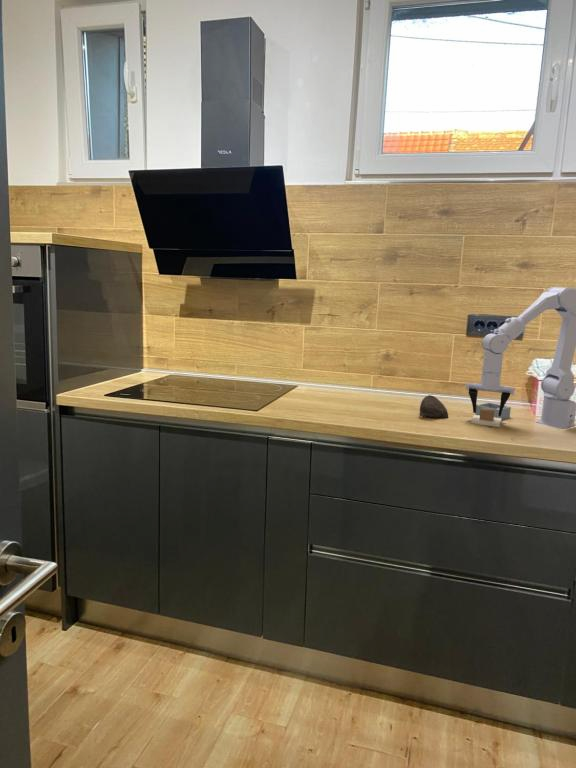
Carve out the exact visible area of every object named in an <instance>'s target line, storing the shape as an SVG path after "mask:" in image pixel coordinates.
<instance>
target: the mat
mask: <svg viewBox="0 0 576 768" xmlns="http://www.w3.org/2000/svg"><path fill="white" fill-rule="evenodd" d="M467 422H468V423H471V419H470V420H466V423H467ZM506 424H507V423H505V422H502V421H501V424H500V426H503V425H506ZM478 425H480V424H478ZM480 426H481V425H480ZM483 426H484V427H488V428H495V426H488V425H482V427H483Z"/></svg>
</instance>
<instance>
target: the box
mask: <svg viewBox="0 0 576 768" xmlns="http://www.w3.org/2000/svg"><path fill="white" fill-rule="evenodd" d="M481 408H490V409H495V411H494V417H496V418H502V420H506V419H509V418H510V416H511V409H512V407H511V406H507V405H504V407H503V410H502V413H501V416H498V415H499V409H500V404H497V403H493V402H485V403H480V404H479V403H478V404H476V413H474V415H480V410H481ZM498 408H499V409H498Z"/></svg>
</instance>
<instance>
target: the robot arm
mask: <svg viewBox="0 0 576 768" xmlns="http://www.w3.org/2000/svg"><path fill="white" fill-rule="evenodd" d="M547 310H555V311H556V312H557V313H558V314H559V316H560V317H561V318H562V320H561V325H560V328H559V333H558V338H557V342H556V346H555V350H554V356H553V360H552V365H551V367H549V368H548V369H547V370H546V372H545V375H544V377H543V378H542V380H541V383H540V389H541V391H542V392H543V401H542V408H541V418H540V420H536V421H535V423H537V424H540V425H546V426H548V427H549V426H550V427H553V428H559V429H565V430H566V429H569V428H572V427H575V426H576V424H575V421H576V402H575V400H571V399H570V398H571V397H572V396H573V395H574V392H575V390H576V389H575V388H576V387H575V375H574V373H573V372H572V370H571V369H572V364H573V361H574V356H575V352H576V288H575V287H573V286H572V287H571V286H569V287H559V286H551V287H549V288H548V289H547V290H546V291H544V292H542V293H541V294H540V295H539V297H537V299H536V300H535V301H534V302H533V303H532V304H531V305H530V306H529V307H527V308H526V309H525V310H524V311H522V313H521V314H519V316H517V317H515V316H512V317H507V318H506V319H505V320H504V321H505V322H504V323H503V324H502V325H500V326H499V327H498V328H495V329H493V333H492V332H491V333H488V334H487V335H485V336H484V337H483V340H482V341H481V342H480V344H481V347H482V349H483V358H482V359H483V360H482V368H481V378H480V379H481V380H480V383H474V382H466V383H465V390H467V391H468V395H469V398H470V400H471V405H472V413H473V414H475V413H476V405H477V400H478V394H479V393H478V391H481V392H487V393H488V392H489V393H498V394H500V403H499V405H500V409H499V415H498V416H501V413H502V410H503V407H504V406H506V403H507V402H508V400H509V398H510V396H511V395H514V394H515V389H516V388H515V387H512V386H511V387H510V386H506V385H501V376H502V369H503V359H504V353H505V352H506V351H507V349H508V347H509V344H510V343H512V342H513V341H514V340H515V339H516V338H518V337H519V336H520V335H521V334H522V333H524V331H525V330H526V325H528V324H530V322H531V321H533V320H534V319H536V318H538V316H540V315H541V314H543V313H544V312H545V311H547Z"/></svg>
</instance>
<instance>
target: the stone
mask: <svg viewBox="0 0 576 768" xmlns="http://www.w3.org/2000/svg"><path fill="white" fill-rule="evenodd" d="M419 416H421V417H422V418H426V419H427V418H436V419H437V418H444V419H448V418H449V412H448V410H447V408H446V406H445V405H444V404H443V402H441V400H439V398H437V397H436V396H434V395H431V394H429V395H426V396H424V398H422V400H421V402H420V406H419Z"/></svg>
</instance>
